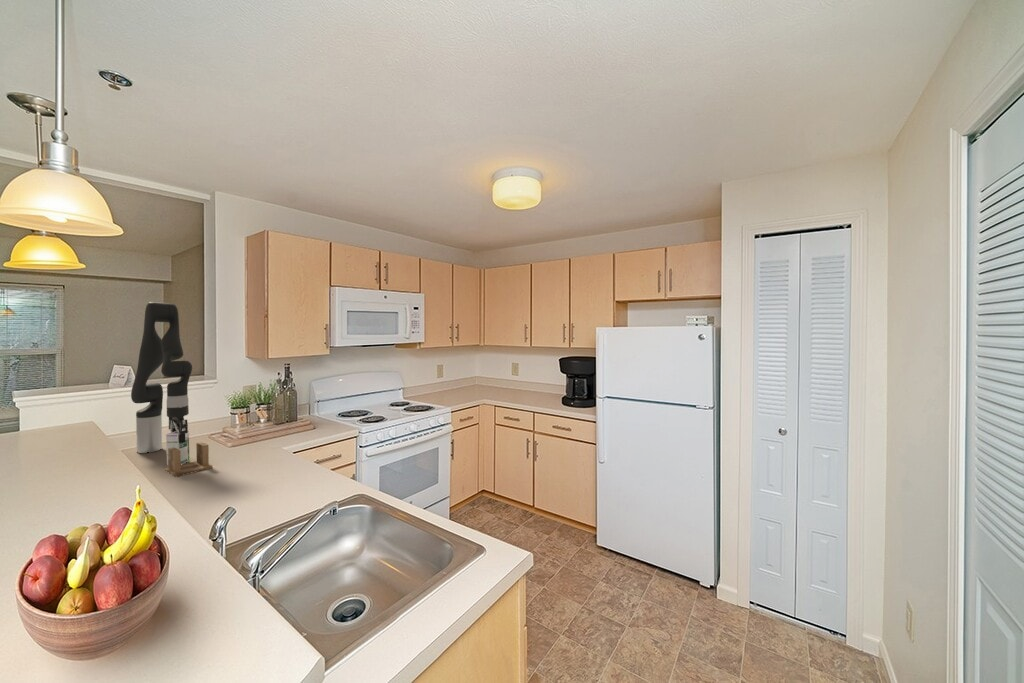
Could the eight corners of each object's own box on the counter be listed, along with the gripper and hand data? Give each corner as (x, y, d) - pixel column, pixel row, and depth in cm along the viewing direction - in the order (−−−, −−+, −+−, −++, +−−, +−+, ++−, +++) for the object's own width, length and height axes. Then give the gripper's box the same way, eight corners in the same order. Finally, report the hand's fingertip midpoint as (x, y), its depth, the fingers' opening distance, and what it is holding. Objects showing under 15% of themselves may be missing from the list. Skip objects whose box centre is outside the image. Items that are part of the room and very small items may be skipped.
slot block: (164, 470, 170) (164, 447, 170) (200, 462, 181) (200, 440, 181) (175, 476, 164) (175, 453, 163) (212, 467, 175) (212, 445, 174)
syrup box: (179, 466, 176) (178, 433, 175) (166, 465, 176) (165, 433, 175) (189, 461, 182) (189, 430, 181) (177, 461, 182) (176, 430, 181)
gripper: (161, 404, 179) (161, 440, 179) (173, 408, 171) (173, 445, 171) (181, 402, 185) (182, 436, 185) (194, 405, 177) (194, 441, 178)
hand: (178, 440), depth 178 cm, fingers open, 8 cm apart
